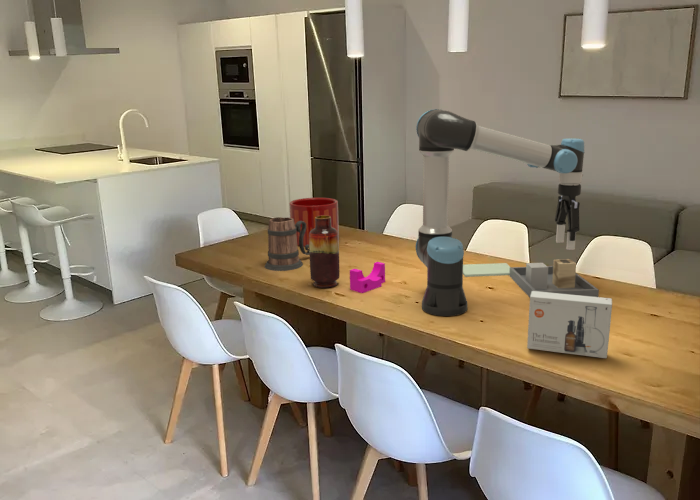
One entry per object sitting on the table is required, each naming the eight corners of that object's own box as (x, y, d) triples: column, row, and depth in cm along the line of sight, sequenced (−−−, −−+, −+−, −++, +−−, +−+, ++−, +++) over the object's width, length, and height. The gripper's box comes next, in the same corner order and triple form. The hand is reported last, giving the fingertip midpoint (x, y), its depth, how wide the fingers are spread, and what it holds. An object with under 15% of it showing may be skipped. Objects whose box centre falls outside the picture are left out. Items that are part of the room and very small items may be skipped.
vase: (307, 282, 242) (304, 215, 235) (334, 278, 245) (332, 212, 239) (315, 290, 232) (313, 221, 225) (344, 286, 235) (342, 218, 229)
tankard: (279, 273, 253) (276, 225, 248) (255, 266, 266) (252, 219, 261) (324, 262, 268) (322, 216, 263) (300, 255, 281) (298, 211, 276)
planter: (320, 251, 287) (319, 207, 282) (281, 245, 299) (279, 203, 294) (348, 240, 305) (347, 199, 300) (310, 235, 318) (308, 196, 313)
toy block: (362, 293, 228) (361, 273, 226) (350, 289, 232) (349, 270, 230) (390, 283, 238) (389, 264, 236) (377, 280, 242) (377, 261, 240)
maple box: (574, 287, 225) (576, 263, 223) (558, 288, 225) (559, 263, 223) (568, 282, 231) (570, 258, 229) (552, 283, 231) (553, 259, 229)
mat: (516, 275, 244) (516, 272, 243) (465, 277, 243) (465, 274, 243) (506, 265, 257) (506, 263, 257) (457, 267, 256) (457, 264, 256)
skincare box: (526, 349, 176) (529, 295, 172) (528, 342, 181) (531, 289, 177) (607, 359, 168) (612, 303, 164) (607, 351, 173) (612, 297, 169)
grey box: (547, 288, 225) (548, 267, 223) (530, 289, 225) (531, 267, 223) (541, 283, 231) (542, 262, 229) (525, 284, 231) (526, 263, 229)
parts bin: (598, 299, 214) (598, 289, 213) (534, 302, 213) (534, 292, 213) (565, 274, 243) (566, 265, 242) (509, 276, 242) (509, 267, 242)
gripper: (593, 188, 208) (587, 253, 214) (568, 178, 230) (564, 238, 235) (571, 188, 208) (566, 253, 214) (548, 179, 230) (544, 238, 235)
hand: (565, 245), depth 224 cm, fingers open, 10 cm apart
